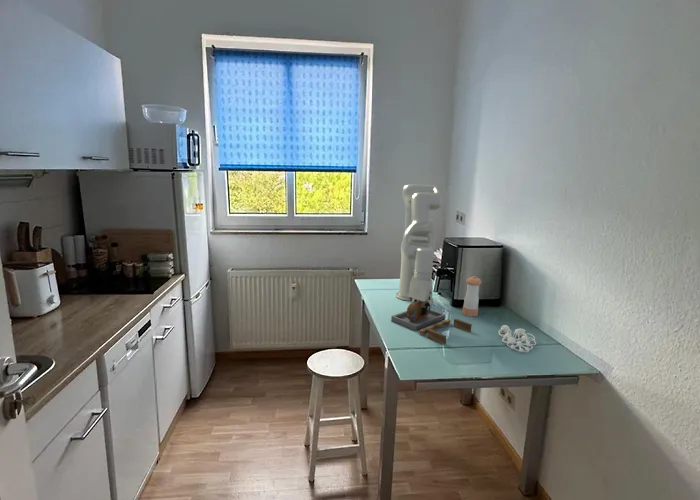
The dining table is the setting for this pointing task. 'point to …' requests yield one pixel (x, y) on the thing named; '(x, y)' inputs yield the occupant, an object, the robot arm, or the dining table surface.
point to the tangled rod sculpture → (512, 340)
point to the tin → (416, 311)
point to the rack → (441, 337)
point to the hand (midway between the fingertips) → (419, 312)
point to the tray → (420, 324)
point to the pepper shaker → (471, 297)
